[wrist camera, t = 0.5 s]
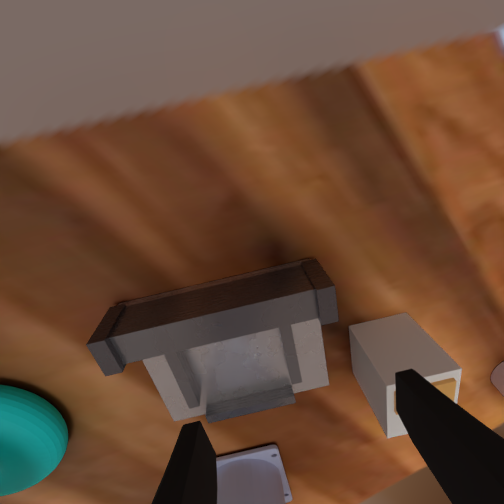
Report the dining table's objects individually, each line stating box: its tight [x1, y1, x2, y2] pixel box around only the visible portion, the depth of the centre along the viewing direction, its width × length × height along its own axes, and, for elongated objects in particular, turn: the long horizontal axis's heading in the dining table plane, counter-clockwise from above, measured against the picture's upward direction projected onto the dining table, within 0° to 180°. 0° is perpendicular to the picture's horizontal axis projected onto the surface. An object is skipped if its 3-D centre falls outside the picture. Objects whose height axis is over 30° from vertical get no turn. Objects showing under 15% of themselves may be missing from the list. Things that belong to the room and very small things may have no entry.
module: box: [349, 313, 462, 438], centre depth 20 cm, size 5×4×6 cm
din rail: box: [86, 258, 339, 423], centre depth 19 cm, size 12×14×4 cm
